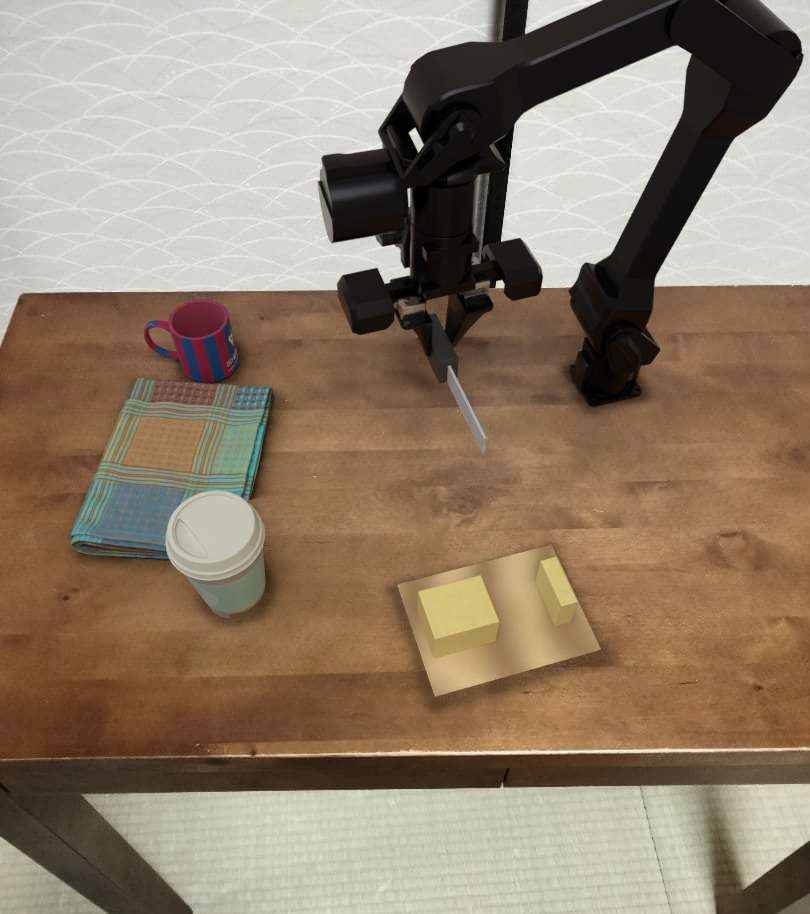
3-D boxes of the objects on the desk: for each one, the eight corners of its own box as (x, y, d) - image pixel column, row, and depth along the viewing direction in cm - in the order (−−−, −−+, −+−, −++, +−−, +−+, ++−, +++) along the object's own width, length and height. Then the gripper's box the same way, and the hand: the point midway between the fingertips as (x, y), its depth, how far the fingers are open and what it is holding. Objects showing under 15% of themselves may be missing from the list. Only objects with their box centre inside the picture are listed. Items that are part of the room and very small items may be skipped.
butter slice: (550, 578, 79) (556, 556, 75) (570, 622, 76) (578, 601, 73) (534, 582, 78) (540, 560, 75) (554, 627, 76) (561, 606, 72)
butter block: (477, 596, 78) (480, 574, 74) (495, 641, 75) (499, 621, 72) (417, 612, 77) (417, 591, 73) (433, 659, 74) (434, 639, 71)
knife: (435, 335, 87) (436, 312, 84) (493, 451, 77) (495, 429, 75) (417, 339, 86) (417, 316, 84) (473, 456, 77) (475, 434, 75)
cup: (231, 386, 95) (220, 342, 89) (148, 379, 95) (131, 334, 90) (244, 346, 98) (234, 301, 93) (164, 339, 99) (149, 294, 93)
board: (549, 552, 82) (551, 544, 81) (598, 656, 76) (601, 649, 74) (397, 592, 80) (396, 584, 78) (434, 703, 73) (434, 696, 72)
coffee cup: (194, 558, 82) (163, 488, 71) (279, 552, 82) (261, 481, 72) (189, 636, 77) (156, 573, 67) (280, 628, 77) (261, 564, 67)
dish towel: (69, 556, 82) (60, 542, 80) (133, 386, 95) (127, 370, 93) (237, 569, 81) (232, 555, 79) (279, 396, 94) (276, 380, 92)
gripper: (508, 148, 76) (494, 283, 89) (315, 185, 73) (329, 319, 86) (556, 217, 71) (533, 351, 84) (348, 261, 67) (358, 393, 81)
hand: (437, 351), depth 84 cm, fingers closed on knife, 2 cm apart
